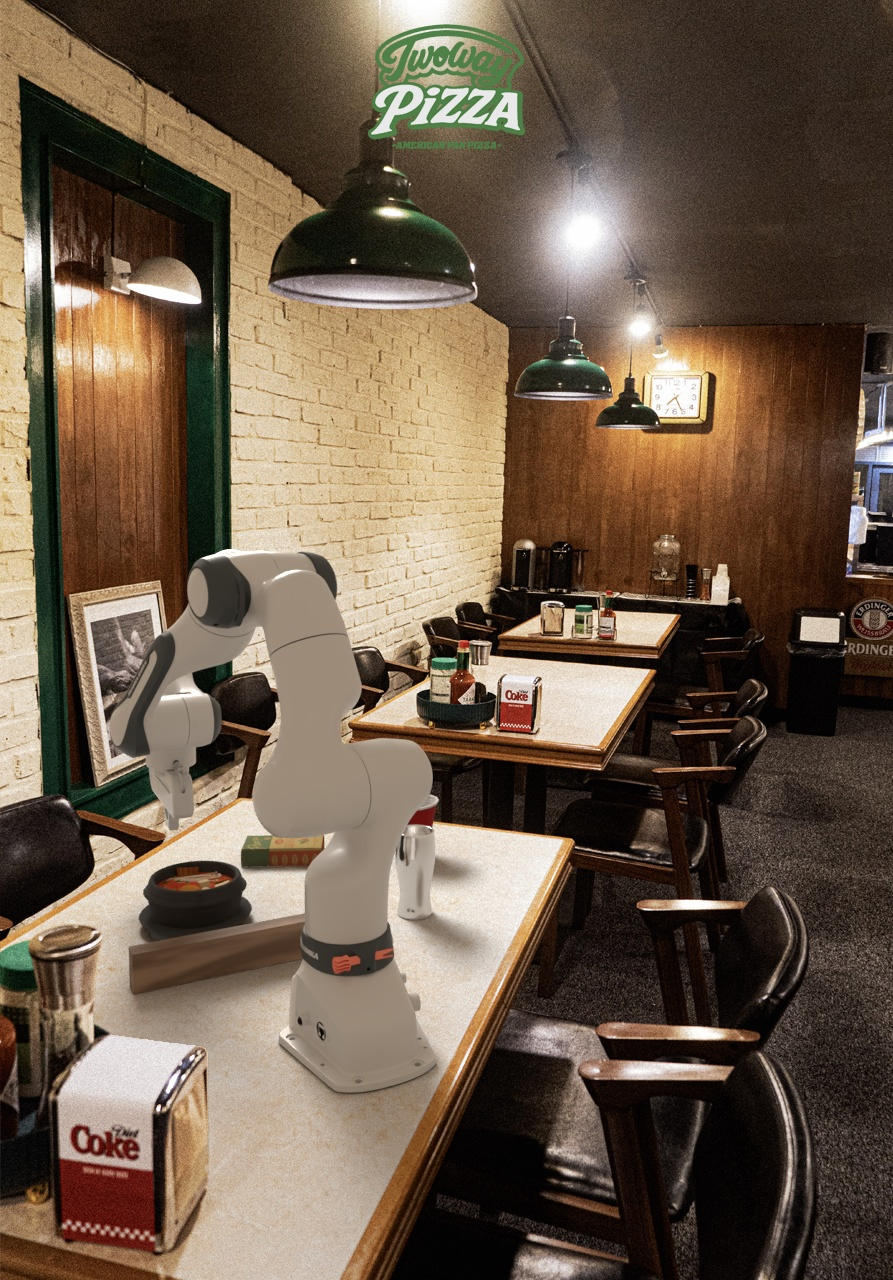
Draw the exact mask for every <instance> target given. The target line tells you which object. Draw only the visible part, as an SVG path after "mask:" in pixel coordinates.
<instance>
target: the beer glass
mask: <svg viewBox="0 0 893 1280" xmlns="http://www.w3.org/2000/svg"><path fill="white" fill-rule="evenodd" d="M435 838H436V837H435V829H434V828H433V827H429V826H426V825H407V826H406V828H405V830H404V832H403V834H402V836H401V838H400V841H399V843H398V846H397V848H396V851H395V854H394V856H395V858H394V859H395V867H396V873H397V881H398V885H399V900H398V901H399V902H398V906H397V914H398V916H399V917H401V918H402V919H406V920H409V921H420V920H426V919H427V918H430V917H431V916H432V914H433V908H432V903H431V902H432V901H431V887H432V881H433V877H434V876H433V875H434V871H435V865H436V839H435Z"/></svg>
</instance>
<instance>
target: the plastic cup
mask: <svg viewBox="0 0 893 1280" xmlns="http://www.w3.org/2000/svg"><path fill="white" fill-rule="evenodd" d="M439 800H440V799H439V798H438V796H435V795H433V794H429V797H428V798H427V800H426V801H425V802H424V804H423V805H422V806H421V807H420V808H419V809H418V810H417V811H416V812H415V814H414V815H413V816H412V818H411V819H410V821H409V822H408V824H407V825H426V826H429V827H432V828H433V827H434V822H435V821H434V819H435V815H436V811H437V805H438V803H439Z"/></svg>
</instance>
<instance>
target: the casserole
mask: <svg viewBox="0 0 893 1280" xmlns="http://www.w3.org/2000/svg"><path fill="white" fill-rule="evenodd" d="M246 889H247V880H246V879H245V878H244V877H243V875H242V873H241V870H240V868H238V867H237V866H236V865H234V864H230V863H228V862H223V861H218V860H192V861H184V862H183V861H182V862H180V863H179V862H178V863H174V864H171V865H167V866H164V867H162V868H160V869H158V870H156V871H155V872H153V873H152V874H151V875H150V876H149V879H148V883H147V884H146V886H145V888H143V892H142V894H143V897H144V898H145V899H146V900H147V903H148V904H147V905H146V906H145V907H144V908H142V910H141V912H140V913H139V915H138V921H139V923H140V924H141V925H142V926H143V928H144V929H146V930H147V931H148V932H149V936H150V937H151V939H152V940H153V941H154V942H155V941H160V940H166V939H171V938H176V937H182V936H187V935H192V934H198V933H203V932H208V931H213V930H219V929H224V928H229V927H235V926H239V924H240V923H242V922H243V921H244V920H246V919H247V918H248V917H249V915H251V913H252V910H253V908H252V904H251V903H250V901H249V900H248V899H247V898H245V897H244V896H243V893H244V892H245V890H246Z"/></svg>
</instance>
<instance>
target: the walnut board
mask: <svg viewBox="0 0 893 1280" xmlns="http://www.w3.org/2000/svg"><path fill="white" fill-rule="evenodd" d="M304 924H305V912H304V913H299V914H298V913H297V914H294V915H289V916H282V917H278V918H277V917H276V918H271V919H266V920H261V921H257V922H251V923H246V924H242V925H236V926H235V927H229V928H224V929H219V930H213V931H208V932H203V933H198V934H192V935H187V936H182V937H176V938H171V939H166V940H160V941H155V940H154V941H151V942H145V943H140V944H135V945H129V946H128V971H129V972H128V974H129V987H130V989H131V992H132V994H133V995H137V994H143V993H147V992H151V991H157V990H160V989H166V988H171V987H175V986H180V985H184V984H189V983H193V982H195V983H196V982H199V981H204V980H208V979H214V978H218V977H222V976H227V975H232V974H236V973H242V972H246V971H250V970H255V969H260V968H265V967H270V966H273V965H274V966H275V965H278V964H284V963H288V962H292V961H297V960H303V957H302V955H301V935H302V927H303V926H304Z"/></svg>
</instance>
